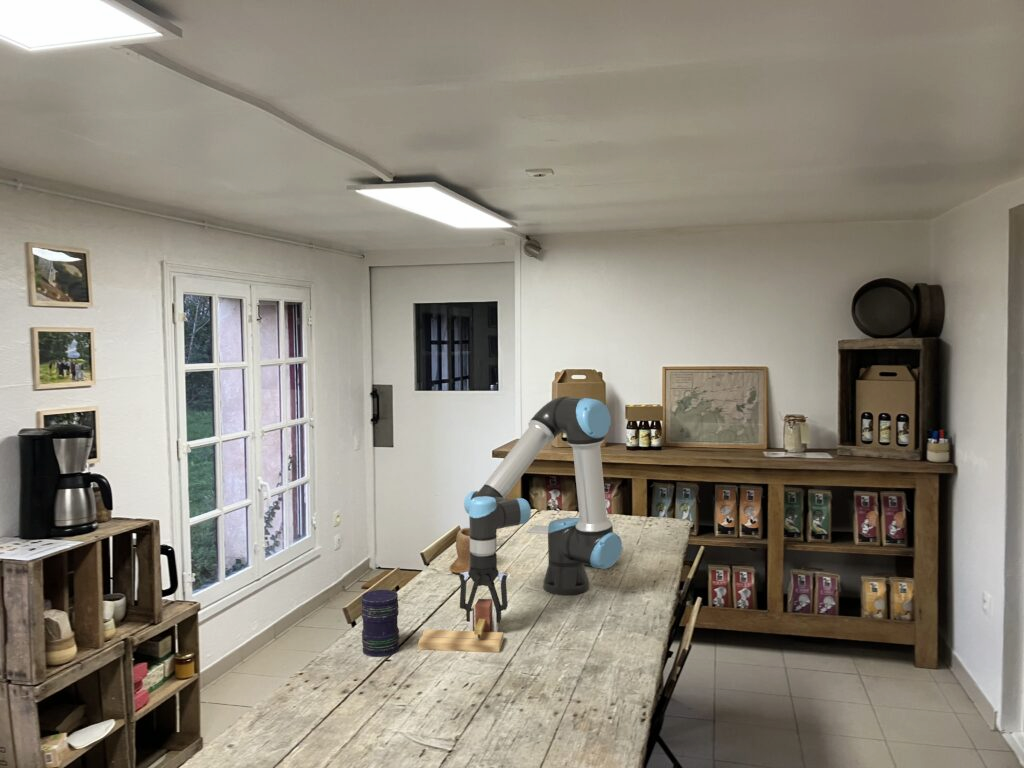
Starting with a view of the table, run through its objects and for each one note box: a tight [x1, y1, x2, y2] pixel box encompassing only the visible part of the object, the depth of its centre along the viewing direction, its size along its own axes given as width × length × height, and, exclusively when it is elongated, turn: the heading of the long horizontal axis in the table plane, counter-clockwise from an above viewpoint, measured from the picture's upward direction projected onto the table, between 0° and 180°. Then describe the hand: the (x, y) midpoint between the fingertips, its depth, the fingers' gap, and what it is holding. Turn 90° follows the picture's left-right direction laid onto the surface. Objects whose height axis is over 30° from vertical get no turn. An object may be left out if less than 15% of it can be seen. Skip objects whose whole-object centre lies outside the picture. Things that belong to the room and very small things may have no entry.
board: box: [417, 629, 504, 653], centre depth 218 cm, size 22×9×2 cm, turn 83°
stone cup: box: [448, 527, 471, 575], centre depth 285 cm, size 15×12×15 cm
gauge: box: [474, 598, 494, 638], centre depth 221 cm, size 4×14×9 cm, turn 173°
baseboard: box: [526, 524, 549, 535], centre depth 336 cm, size 31×3×12 cm
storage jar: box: [360, 589, 400, 658], centre depth 214 cm, size 10×10×15 cm
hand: (483, 632), depth 225 cm, fingers open, 6 cm apart
